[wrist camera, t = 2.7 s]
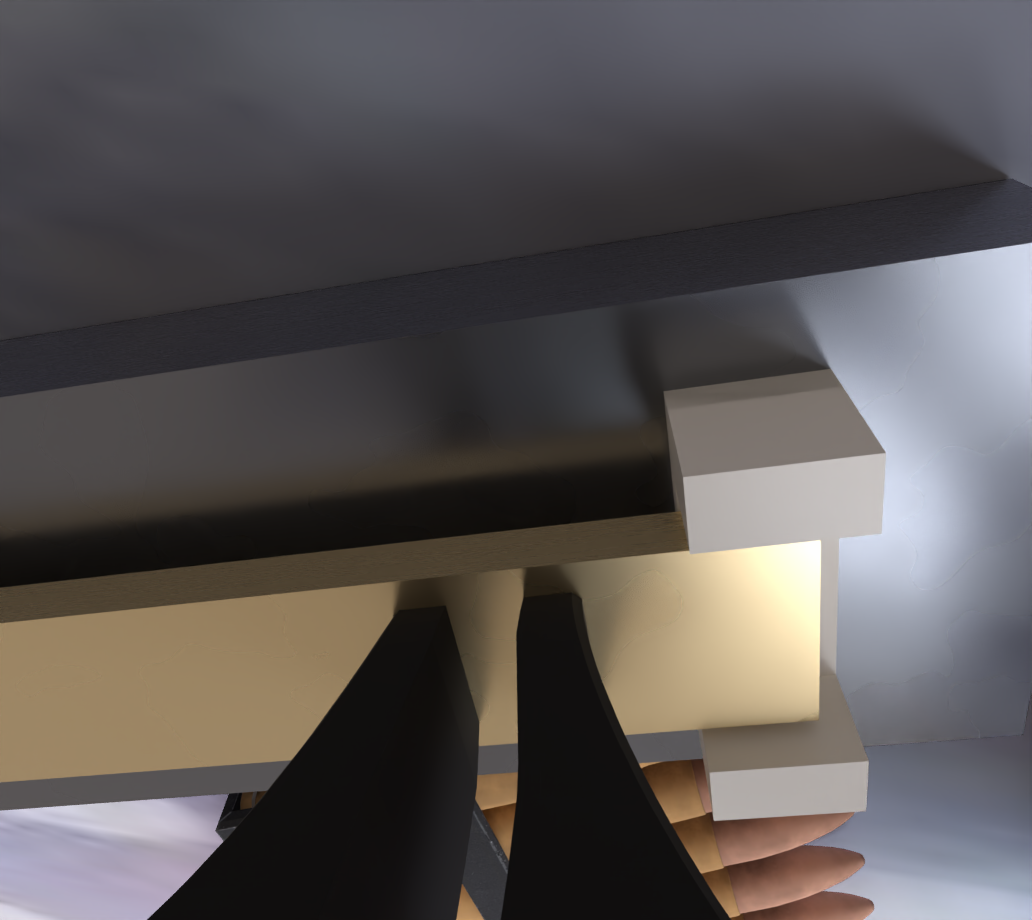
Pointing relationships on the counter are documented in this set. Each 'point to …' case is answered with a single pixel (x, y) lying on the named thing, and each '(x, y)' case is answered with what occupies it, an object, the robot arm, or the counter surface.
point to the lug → (775, 521)
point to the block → (565, 435)
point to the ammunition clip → (711, 844)
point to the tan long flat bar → (362, 619)
